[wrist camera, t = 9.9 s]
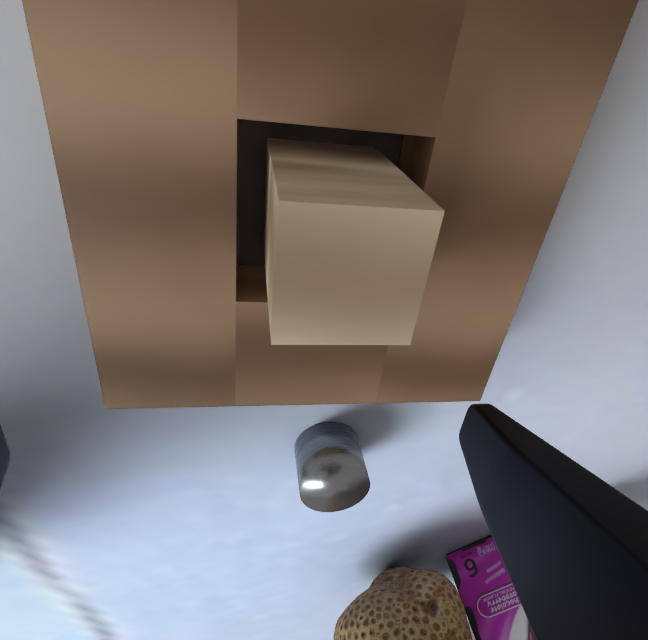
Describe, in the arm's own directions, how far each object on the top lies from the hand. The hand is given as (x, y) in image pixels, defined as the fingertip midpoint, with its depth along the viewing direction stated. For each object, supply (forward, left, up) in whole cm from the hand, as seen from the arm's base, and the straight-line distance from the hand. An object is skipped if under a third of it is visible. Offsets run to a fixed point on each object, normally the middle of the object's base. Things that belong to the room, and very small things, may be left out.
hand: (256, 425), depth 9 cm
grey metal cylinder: (-13, -4, -11) cm, 17 cm away
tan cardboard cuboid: (+1, -3, -11) cm, 11 cm away
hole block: (+1, -2, -11) cm, 11 cm away
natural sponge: (-27, -10, -11) cm, 31 cm away
